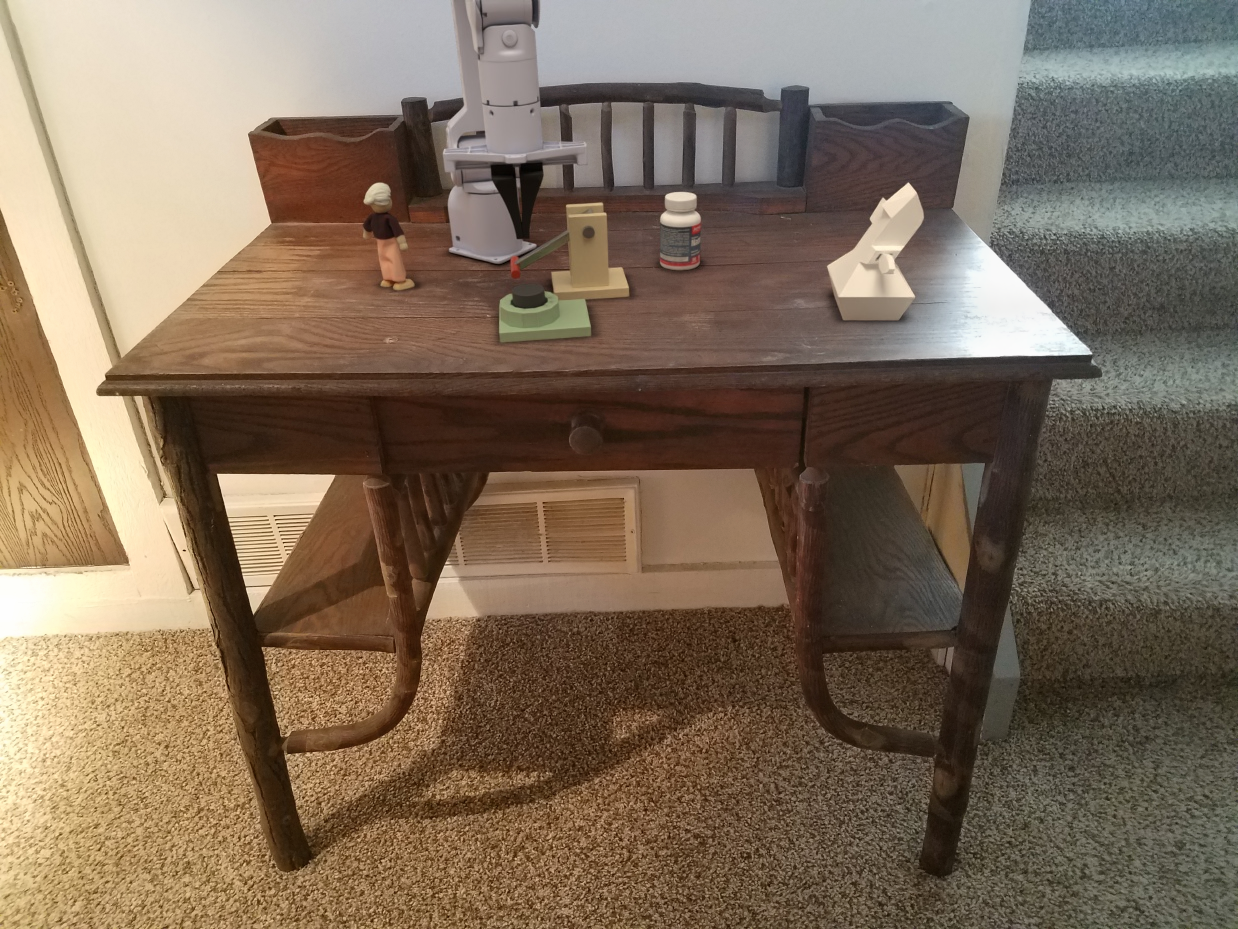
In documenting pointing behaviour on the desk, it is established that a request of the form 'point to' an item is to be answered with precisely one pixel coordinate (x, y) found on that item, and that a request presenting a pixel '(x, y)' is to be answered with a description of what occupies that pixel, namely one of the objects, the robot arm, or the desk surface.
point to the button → (528, 296)
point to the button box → (543, 320)
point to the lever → (540, 251)
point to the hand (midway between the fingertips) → (522, 236)
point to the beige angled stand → (878, 262)
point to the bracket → (588, 258)
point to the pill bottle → (680, 232)
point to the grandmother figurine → (386, 237)
